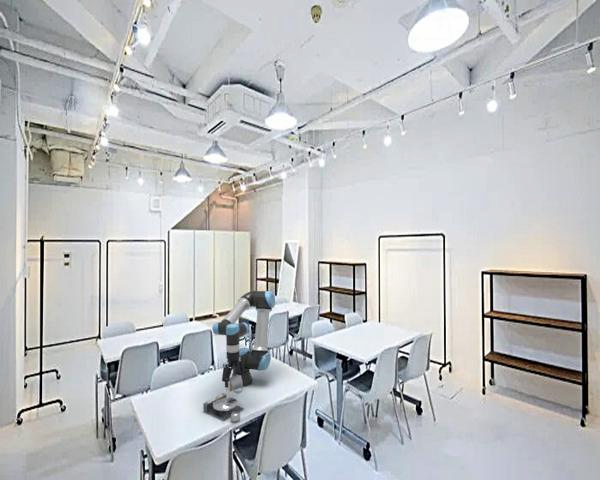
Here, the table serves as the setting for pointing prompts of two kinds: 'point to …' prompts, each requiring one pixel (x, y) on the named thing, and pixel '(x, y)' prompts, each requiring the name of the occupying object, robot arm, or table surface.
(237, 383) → the ceramic mug
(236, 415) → the steel spacer
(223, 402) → the pan
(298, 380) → the table surface
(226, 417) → the scale base
